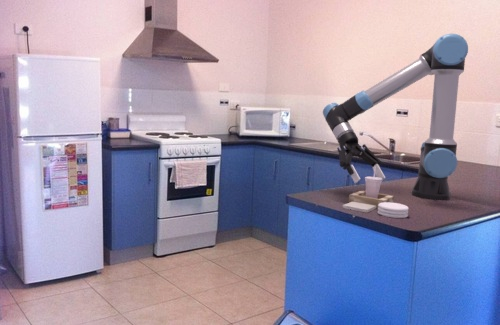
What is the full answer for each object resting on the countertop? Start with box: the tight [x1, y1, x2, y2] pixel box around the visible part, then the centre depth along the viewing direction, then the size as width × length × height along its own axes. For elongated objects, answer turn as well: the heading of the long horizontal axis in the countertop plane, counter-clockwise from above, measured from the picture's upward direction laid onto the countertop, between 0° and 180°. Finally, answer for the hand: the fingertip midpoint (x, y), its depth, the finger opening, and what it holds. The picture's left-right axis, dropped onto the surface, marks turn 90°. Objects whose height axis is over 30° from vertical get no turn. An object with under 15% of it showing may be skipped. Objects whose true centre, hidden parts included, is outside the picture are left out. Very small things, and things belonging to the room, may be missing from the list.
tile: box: [342, 202, 377, 213], centre depth 163 cm, size 9×9×1 cm
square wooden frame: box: [348, 190, 395, 209], centre depth 174 cm, size 13×13×3 cm
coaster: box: [377, 202, 410, 219], centre depth 157 cm, size 10×10×4 cm
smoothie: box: [364, 166, 383, 198], centre depth 173 cm, size 6×6×14 cm
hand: (370, 180), depth 173 cm, fingers open, 13 cm apart
